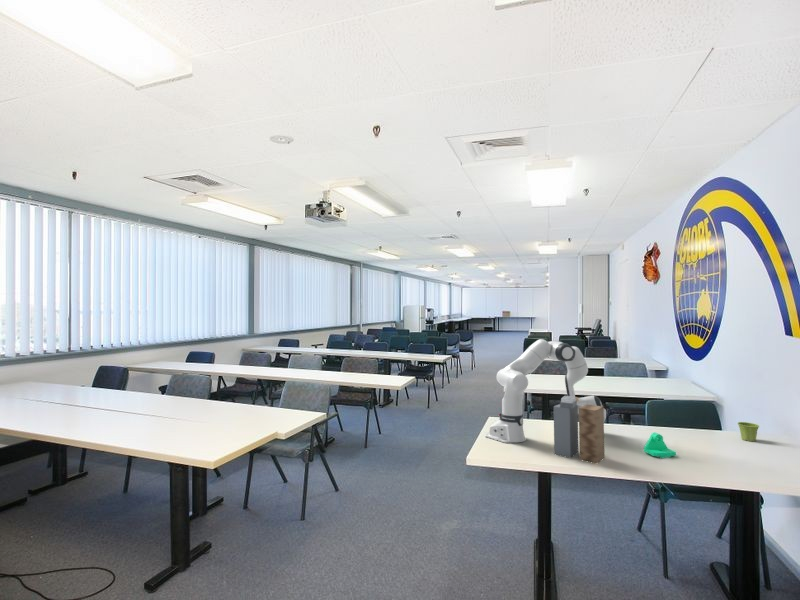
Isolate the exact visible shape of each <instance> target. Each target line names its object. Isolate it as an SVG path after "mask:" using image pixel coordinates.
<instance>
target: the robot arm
mask: <svg viewBox="0 0 800 600" xmlns="http://www.w3.org/2000/svg"><path fill="white" fill-rule="evenodd" d="M546 359H551V360H553V361H558V362H564V364H565V366H566V369H567V373H566V374H565V375H564V383H565V390H566V396H574V397H576V394H575V388H574V386H575V384H577V383H578V382H580V381H581V380H583V379H585V377H586V376H587V374H588V373H589V368H588V364H587V362H586V359H585V356H584V355H583V352H582V351H581V350H580V348H579V347H578V346H573V345H572V346H571V345H570V344H569V343H565V342H562V341H558V340H546V339H543V338H540V339H537V340H536V341H534V342H533V343H532V344H530V345H529V346H528V347H527V348H526V349H525V351H524V352H523V353H522V354H521V355H520V356H519V357H518V358H516V359H515V360H514V361H512V362H511V363H509V364H508V365H507V366H505V367H503V368H501V369H499V370H498V371H497V373H496V375H495V376H496V378H495V379H496V381H497V382H498V383H499V384H500V386H502V387H504V388H505V392H504V395H503V398H502V399H501V410H502V411H501V413H499V414H498V416H497V417H499V419H497V420H495V421H494V422H493V423H492V424H491V425H490V426H489V431H488V432H486V433H485V434H484V435H485V436H484V437H485V438H488V439H491V440H495V441H497V440H498V441H497V442H500V443H501V442H502V443H505V444H506V443H509V444H510V443H523V442H526V440H527V439H526V436H525V431H524V414H523V397H524V394H525V391H526V389H527V388H528V385H529V379H528V377H527V376H528V375H529V374H532V373H533V372H535V370H537V368H538V367H540V365H541V364H542V363H543V362H544V361H545V360H546ZM586 404H588V405H595V406H602V407H603V408H604V405H603V403H602V400H601V399H600V398H599V396H596V395H588V396H587V395H586V396H584V397H583V396H582V397H578V402H577V405H578V416H579V408H580V407H582V406H584V405H586ZM606 419H607V410H606V408H604V423H605V422H606Z"/></svg>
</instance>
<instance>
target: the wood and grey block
mask: <svg viewBox="0 0 800 600" xmlns="http://www.w3.org/2000/svg"><path fill="white" fill-rule="evenodd" d="M578 398H579V397H578V396H575V397H574V396H567V395H564V396H562V397H561V398H560V402H559V404H560V407H561V408H570V409H573V408H574V407H576V406H577V402H578Z"/></svg>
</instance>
